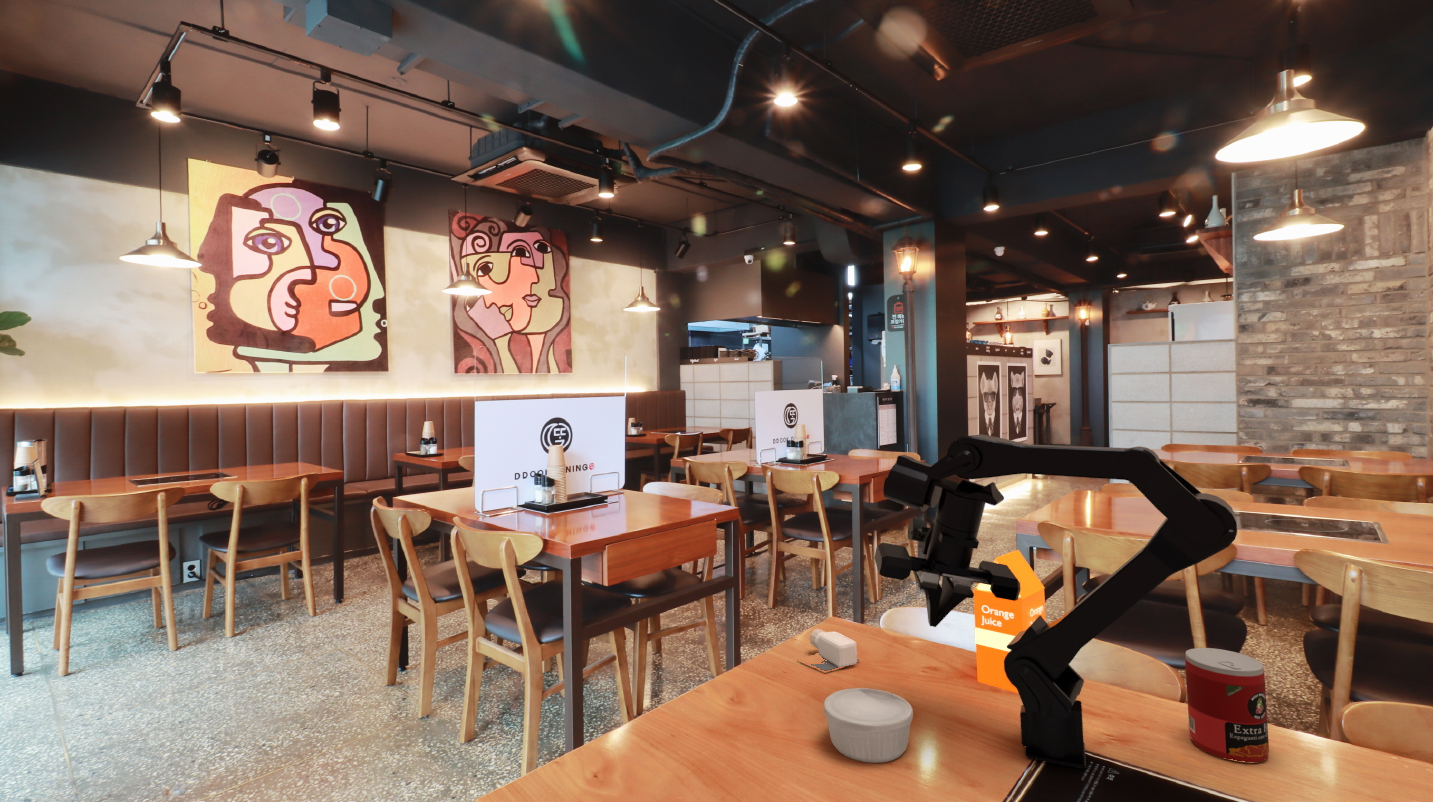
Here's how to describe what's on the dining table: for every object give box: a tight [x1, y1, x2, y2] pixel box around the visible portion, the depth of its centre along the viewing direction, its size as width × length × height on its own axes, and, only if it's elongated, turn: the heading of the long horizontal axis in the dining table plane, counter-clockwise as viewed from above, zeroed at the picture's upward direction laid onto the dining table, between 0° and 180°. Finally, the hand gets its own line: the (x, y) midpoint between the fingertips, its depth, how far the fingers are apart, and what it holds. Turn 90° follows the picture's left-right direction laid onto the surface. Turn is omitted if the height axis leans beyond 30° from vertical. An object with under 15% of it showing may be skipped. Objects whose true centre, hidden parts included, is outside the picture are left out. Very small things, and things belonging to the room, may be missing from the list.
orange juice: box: [973, 549, 1047, 694], centre depth 102 cm, size 8×9×20 cm
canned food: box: [1184, 647, 1270, 763], centre depth 80 cm, size 8×8×11 cm
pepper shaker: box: [809, 628, 858, 668], centre depth 113 cm, size 4×4×10 cm
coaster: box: [811, 658, 859, 671], centre depth 112 cm, size 7×8×1 cm
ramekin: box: [823, 687, 914, 764], centre depth 83 cm, size 11×11×5 cm
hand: (932, 625), depth 91 cm, fingers closed
